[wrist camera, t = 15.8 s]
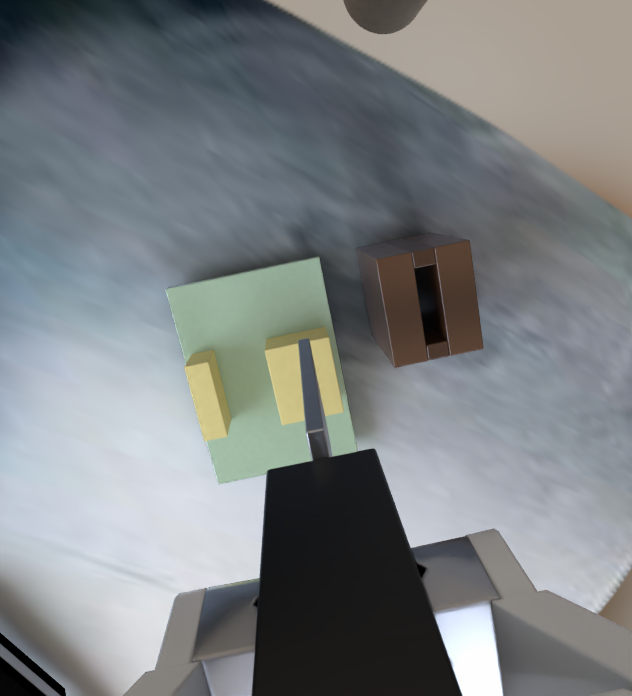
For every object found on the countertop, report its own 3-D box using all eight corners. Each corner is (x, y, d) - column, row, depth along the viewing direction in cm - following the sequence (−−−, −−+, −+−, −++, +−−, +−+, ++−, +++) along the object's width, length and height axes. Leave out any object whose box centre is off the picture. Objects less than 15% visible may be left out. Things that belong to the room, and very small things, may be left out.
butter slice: (191, 354, 37) (183, 366, 34) (213, 349, 37) (208, 361, 34) (210, 423, 38) (204, 441, 36) (231, 419, 38) (227, 436, 36)
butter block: (265, 339, 37) (264, 350, 34) (325, 326, 37) (329, 336, 34) (281, 409, 38) (282, 425, 36) (339, 396, 38) (344, 412, 36)
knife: (269, 345, 20) (226, 753, 5) (337, 331, 20) (477, 704, 5) (289, 436, 21) (300, 994, 6) (354, 423, 21) (513, 950, 6)
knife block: (355, 247, 37) (375, 259, 29) (430, 232, 37) (470, 239, 29) (371, 335, 39) (394, 368, 31) (443, 320, 39) (484, 349, 31)
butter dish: (168, 287, 37) (165, 289, 36) (318, 255, 37) (319, 257, 36) (219, 478, 41) (218, 484, 40) (356, 449, 41) (358, 454, 40)
